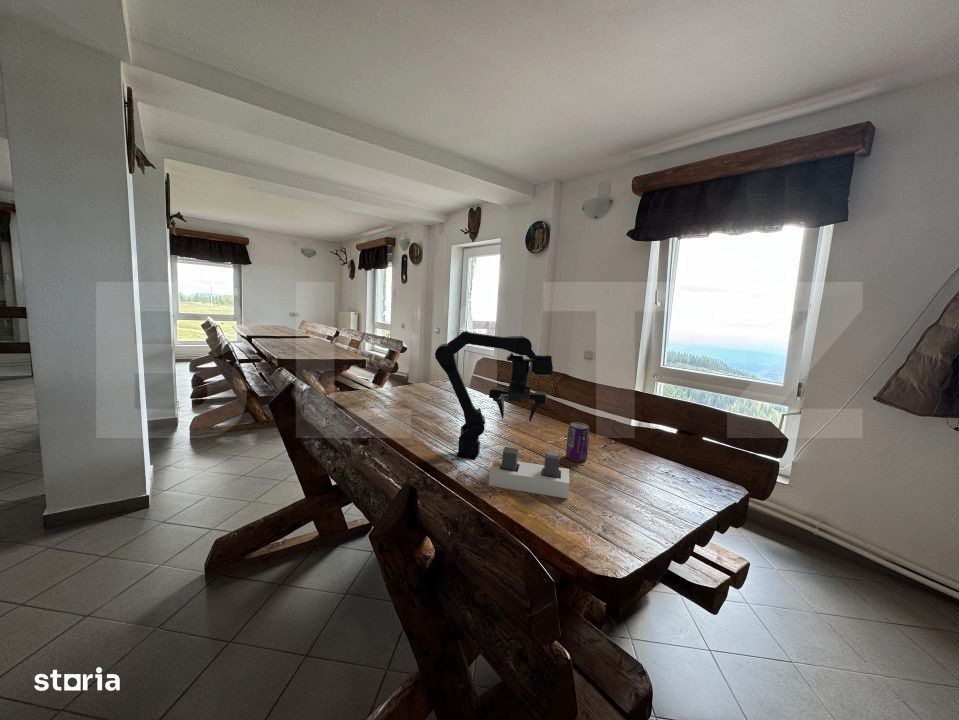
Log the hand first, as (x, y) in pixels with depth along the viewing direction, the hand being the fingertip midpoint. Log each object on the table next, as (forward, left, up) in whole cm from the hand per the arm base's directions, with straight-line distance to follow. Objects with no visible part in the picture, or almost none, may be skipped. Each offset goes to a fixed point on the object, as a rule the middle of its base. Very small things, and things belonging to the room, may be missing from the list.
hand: (516, 419), depth 123 cm
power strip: (+7, -18, -13) cm, 23 cm away
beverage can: (+21, +6, -13) cm, 26 cm away
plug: (+13, -18, -12) cm, 25 cm away
